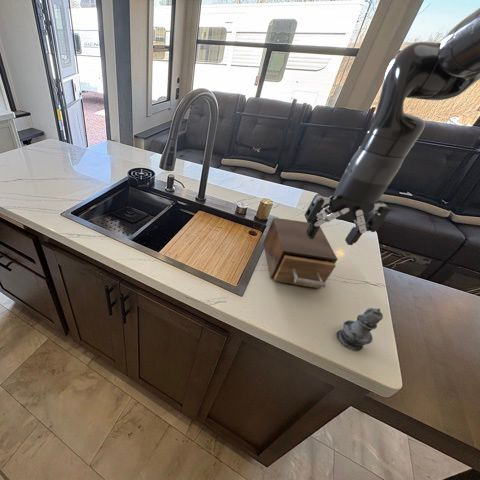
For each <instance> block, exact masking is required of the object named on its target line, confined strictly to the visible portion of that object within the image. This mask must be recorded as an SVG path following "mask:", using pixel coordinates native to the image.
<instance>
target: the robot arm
mask: <svg viewBox="0 0 480 480" xmlns="http://www.w3.org/2000/svg"><path fill="white" fill-rule="evenodd" d="M478 81H480V7H478V8H477V9H476V10H475V11H473V12H472V13H471V14H469V15H467V16H466V17H465V18H464V19H462V20H461V21H460V22H458V23H457V24H456V25H455V26H454V27H453V28H451V30H449V32H448V33H446V35H445V36H444V38H443V39H442V41H441V42H435V41H434V42H433V41H417V42H414V43H411V44H409V45H407V46H406V47H404V48H403V49H401V50H400V52H398V53H397V54H396V55H395V57H394V58H393V59H392V60H391V61H390V63H389V65H388V66H387V69H386V70H385V74H384V77H383V81H382V86H381V91H380V96H379V100H378V103H377V107H376V110H375V113H374V116H373V120H372V123H371V124H370V127H369V129H368V131H367V132H366V135H364V138H363V140H362V142H361V144H360V145H359V147H358V149H357V150H356V151H355V153H354V154H353V155H352V158H351V159H350V161H349V162H348V164H347V166H346V168H345V171H344V173H343V174H342V176H341V178H340V180H339V182H338V184H337V185H336V187H335V189H334V193H333V194H332V195H331V196H329V197H327V196H322V195H321V193H316V194H315V195H314V197H313V198H312V200H311V202H310V204H309V206H308V207H307V209H306V211H305V213H304V218H305V220H306V222H308V223H310V225H309V227H308V229H307V231H306V233H307V235H308V237H309V239H313V238H314V237H315V235H316V233H317V231H318V229H319V228H320V227H321V226H322V225H324V224H326V223H329V222H332V221H333V220H338V221H342V220H343V221H347V222H354V224H355V226H353V227H351V229H350V231H349V232H348V234H347V235H346V237H345V239H344V240H345V243H346V244H347V245H348V246H353V245H354V244H357V242H358V241H359V239H360V238H361V236H362V235H363V234H364V233H366V232H371V233H375V232H377V231H378V229H379V228H380V226H381V225H382V224H383V222H384V221H385V219H386V217H387V215H388V214H389V213H390V211H391V209H390V208H389V206H388V205H387V204H385V203H384V202H382V201H381V202H379V200H380V199H381V198H382V196H383V195H384V193H385V191H386V190H387V189H388V187H389V185H390V184H391V182H392V181H393V180H394V178H395V176H396V175H397V174H398V172H399V170H400V169H401V167H402V164H403V163H404V160H405V159H406V157H407V155H408V154H409V152H410V151H411V149H412V148H413V147H414V145H415V144H416V142H417V141H418V139H419V138H420V136H421V134H422V133H423V131H424V129H425V126H426V122H425V121H424V120H423V119H422V118H421V117H419V116H416V115H413V114H411V113H408V112H405V111H404V103H405V100H406V98H407V99H416V100H424V101H425V100H427V101H443V100H449V99H452V98H455V97H457V96H460V95H461V94H463V93H465V92H466V91H467V90H468V89H470V87H472V86H473V85H474V84H477V82H478ZM377 202H378V203H377ZM325 205H327V206H326V207H325ZM329 213H330V214H329ZM369 213H371V214H370V215H369V217H368V219H367V220H365V215H368V214H369ZM319 226H320V227H319Z"/></svg>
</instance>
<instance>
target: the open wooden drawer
mask: <svg viewBox="0 0 480 480" xmlns="http://www.w3.org/2000/svg"><path fill="white" fill-rule="evenodd" d="M328 261H329V260H324V259H318V258H311V257H305V256H299V255H292V254H286V253H285V255H284V257H283V259H282V261H281V263H280V266H279V268H278V270H277V272H276V275H275V277H274V279H273V280H274V282H280V283H287V284H292V285H298V286H304V287H307V288H308V287H309V288H314V289H322V288H326V281H327V280H328V279H329V277H330V276H331V274H332V273H333V271H334V269H335V268H336V263H332V262H328Z"/></svg>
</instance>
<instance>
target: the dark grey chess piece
mask: <svg viewBox="0 0 480 480" xmlns="http://www.w3.org/2000/svg"><path fill="white" fill-rule="evenodd" d="M383 317H384V315H383V312H381V308H378V307H376V308H375V307H368V308H366V309H365V311H364V312H363V313H362V314H358V315H357V317H356V320H349V319H348V320H344V321H343V322H342V328H341V329H340V330H338V331H337V333H336V338H337V340H338V341H339V343H340V344H341V345H342V346H343V347H345V348H346V349H348V350H350V351H353V352H359V351H361V350H362V349H363V348H364V346H365V345H369V344H371V343H373V340H374V337H373V335H372V333H371V331H372V330H376V329H377V327H378V325H377V324H378V323H380V322H381V321H382V320H383Z"/></svg>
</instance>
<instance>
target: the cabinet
mask: <svg viewBox="0 0 480 480" xmlns="http://www.w3.org/2000/svg"><path fill="white" fill-rule="evenodd" d="M309 225H310V223H308V222H307V221H299V220H293V219H287V218H285V219H284V218H280V217H273V218H272V220H271V223H270V226H269V228H268V230H267V233H266V235H265V238H264V241H263V244H262V245H263V249H264V252H265V258H266V263H267V267H268V273H269V277H270V279H273V280H274V277H275V275H276V272H277V270H278V268H279V266H280V263H281V261H282V259H283V257H284V255H285V253H286V254H292V255H299V256H305V257H311V258H318V259H324V260H329V261H328V262H332V263H335V264H336V263H337V262H338V257H337V255H336V254H335V252H334V250H333V248H332V246H331V244H330V242H329V240H328V238H327V237H326V235H325V233H324V231H323V229H322V227H321V225H320V226H319V227H320V228H319V229H318V231H317V233H316V235H315V237H314V238H313V239H309V237H308V235H307V233H306V231H307V229H308V227H309Z"/></svg>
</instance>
